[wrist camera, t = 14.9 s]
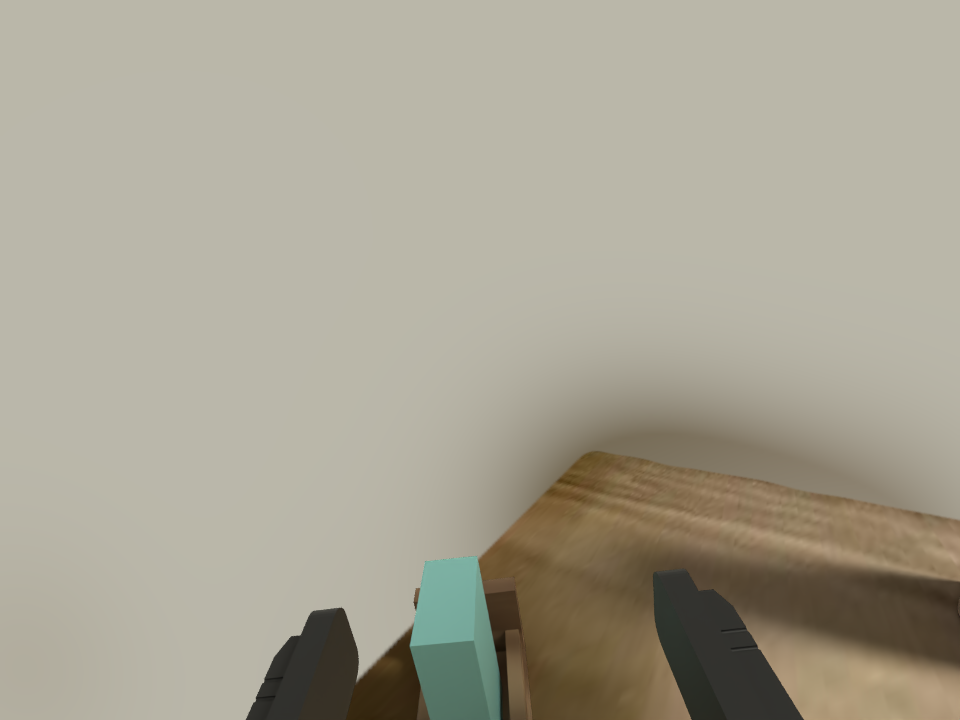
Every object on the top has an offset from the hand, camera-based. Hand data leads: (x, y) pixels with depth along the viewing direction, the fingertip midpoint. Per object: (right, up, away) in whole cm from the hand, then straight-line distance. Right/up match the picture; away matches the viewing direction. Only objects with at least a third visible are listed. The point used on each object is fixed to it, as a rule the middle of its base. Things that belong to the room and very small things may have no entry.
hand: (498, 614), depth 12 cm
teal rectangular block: (-1, -23, +24) cm, 33 cm away
